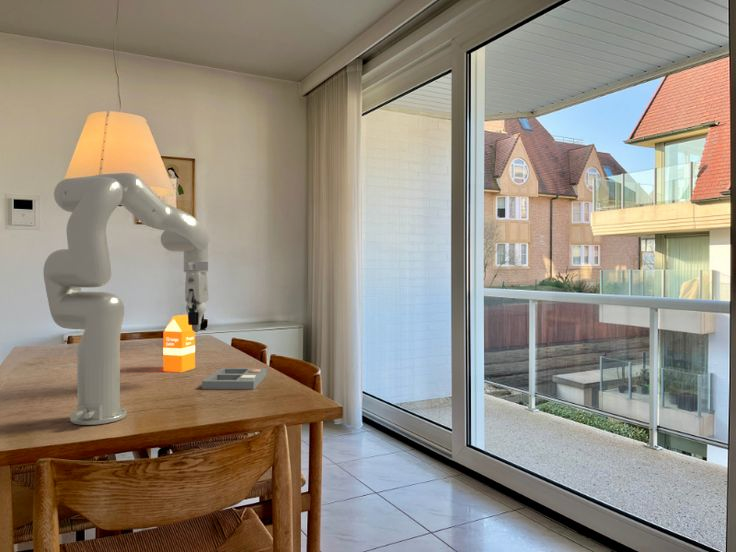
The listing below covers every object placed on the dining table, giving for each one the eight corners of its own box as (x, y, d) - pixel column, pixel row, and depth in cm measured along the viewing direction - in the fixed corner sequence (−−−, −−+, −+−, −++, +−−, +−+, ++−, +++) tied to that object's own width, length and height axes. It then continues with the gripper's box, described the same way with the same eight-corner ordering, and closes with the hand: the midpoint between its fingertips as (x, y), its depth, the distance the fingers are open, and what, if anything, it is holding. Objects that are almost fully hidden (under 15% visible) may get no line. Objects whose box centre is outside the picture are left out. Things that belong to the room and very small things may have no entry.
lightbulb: (200, 333, 169) (199, 299, 169) (182, 333, 170) (182, 299, 170) (209, 331, 175) (209, 297, 175) (192, 330, 176) (191, 297, 176)
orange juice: (163, 371, 194) (162, 316, 194) (177, 366, 203) (177, 314, 202) (182, 372, 192) (182, 316, 192) (195, 367, 201) (195, 314, 200)
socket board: (253, 389, 166) (253, 380, 166) (202, 389, 166) (202, 380, 166) (266, 375, 188) (266, 366, 188) (221, 375, 188) (221, 366, 188)
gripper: (199, 267, 164) (200, 327, 164) (214, 267, 181) (214, 321, 181) (175, 267, 164) (175, 327, 164) (192, 267, 181) (192, 321, 181)
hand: (196, 323), depth 173 cm, fingers closed on lightbulb, 5 cm apart
